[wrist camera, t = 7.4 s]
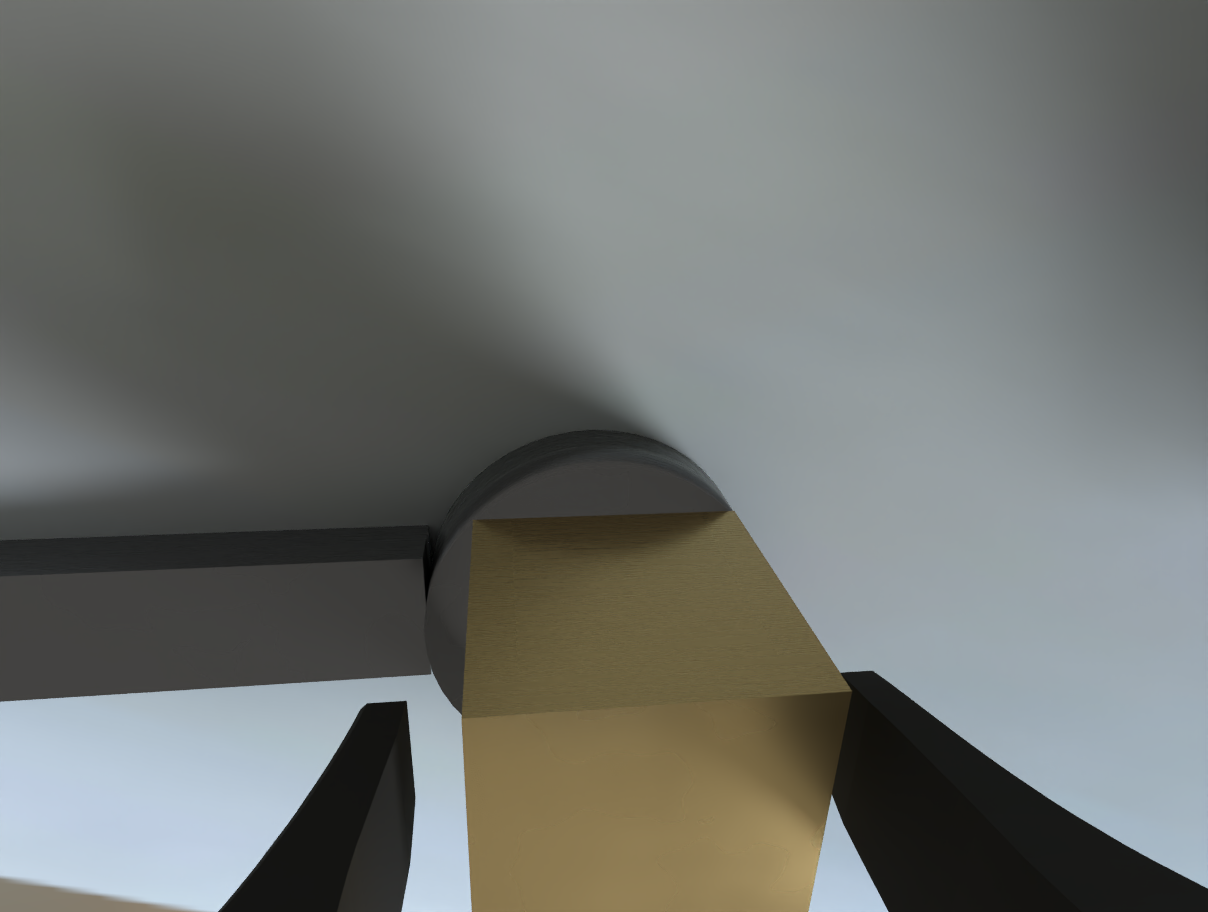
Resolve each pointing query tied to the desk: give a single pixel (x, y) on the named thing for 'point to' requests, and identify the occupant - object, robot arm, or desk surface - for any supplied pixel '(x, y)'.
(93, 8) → the desk surface
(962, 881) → the robot arm
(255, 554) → the ratchet
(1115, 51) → the desk surface
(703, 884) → the brushed gold cube
